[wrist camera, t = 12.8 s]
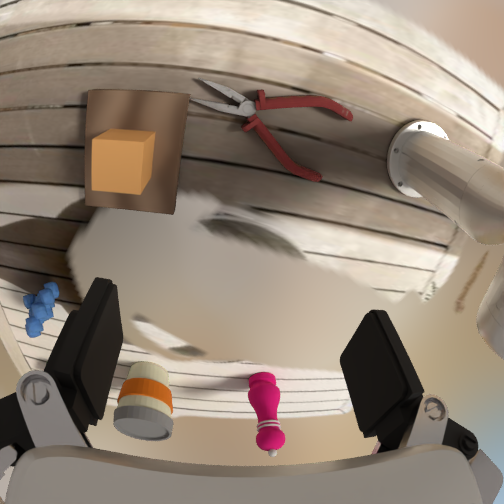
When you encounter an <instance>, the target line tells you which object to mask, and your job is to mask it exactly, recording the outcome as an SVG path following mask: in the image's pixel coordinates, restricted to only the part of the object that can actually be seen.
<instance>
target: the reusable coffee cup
mask: <svg viewBox="0 0 504 504" xmlns="http://www.w3.org/2000/svg"><path fill="white" fill-rule="evenodd" d="M117 402H118V406H117V408H116V409H115V411H114V427H115V428H116V429H117V430H118V431H120V432H121V433H123V434H125V435H128V436H130V437H133V438H136V439H141V440H147V441H161V440H166V439H168V438H170V437H171V434H172V428H173V420H172V417H171V414H172V413H173V407H172V394H171V391H170V389H169V376H168V372H167V371H166V370H165V369H164V368H163V367H162V366H160V365H158V364H155V363H152V362H137V363H134V364H133V365H132V366H131V368H130V371H129V374H128V377H127V380H126V381H125V382H124V383H123V385H122V388H121V391H120V394H119V397H118V400H117Z"/></svg>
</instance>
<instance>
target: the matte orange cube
mask: <svg viewBox="0 0 504 504" xmlns="http://www.w3.org/2000/svg"><path fill="white" fill-rule="evenodd" d="M155 133H156V132H153V131H140V130H124V129H109V130H107V131H106V132H104V133H102V134H100V135H99V136H97V137H95V138H93V139H92V190H94V191H106V192H117V193H127V194H137V195H141V193H142V191H143V190H144V188H145V186H146V185H147V183H148V181H149V180H150V178H151V174H152V162H153V151H154V142H155Z"/></svg>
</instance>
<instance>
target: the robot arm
mask: <svg viewBox="0 0 504 504" xmlns="http://www.w3.org/2000/svg"><path fill="white" fill-rule="evenodd" d="M387 169H388V174H389V177H390V179H391V181H392V183H393V185H394V186H395V187H396V188H397V189H398V190H399V191H400V192H402V193H403V194H405V195H407V196H410V197H417V198H418V197H424V198H425V199H426V200H428V201H429V202H430V203H431V204H433V205H434V206H435V207H436V208H438V209H439V210H440V211H441V212H442V213H444V214H445V215H446V216H447V217H448V218H450V219H451V220H452V221H453V222H454V223H455V224H456V225H458V226H459V227H460V228H461V229H462V230H463V231H464V232H466V233H467V234H468V235H469V236H470V237H471V238H473V239H474V240H475V241H477V242H479V243H481V244H485V245H499V244H504V168H503V167H501V166H499V165H498V164H496V163H494V162H492V161H490V160H488V159H487V158H485V157H483V156H481V155H479V154H477V153H475V152H473V151H471V150H469V149H467V148H465V147H463V146H461V145H459V144H456V143H454V142H452V141H450V140H449V139H448V137H447V135H446V134H445V132H444V131H443V130H442V129H441V128H440V127H439V126H438V125H436V124H435V123H432V122H430V121H425V120H416V121H412V122H410V123H408V124H406V125H405V126H403V127H402V128H401V129H400V130H399V131H398V132H397V133H396V135H395V136H394V138H393V140H392V142H391V144H390V147H389V150H388V155H387ZM477 327H478V331H479V333H480V335H481V337H482V339H483V340H484V342H485V343H486V344H487V345H488V347H489V348H490V349H492V350H493V351H494V352H495V353H496V354H497V355H498V356H500V357H501V358H502V359H504V256H503V259H502V262H501V264H500V266H499V269H498V270H497V273H496V275H495V277H494V279H493V281H492V282H491V285H490V286H489V288H488V290H487V292H486V294H485V296H484V298H483V300H482V302H481V304H480V307H479V309H478V313H477ZM122 343H123V331H122V324H121V317H120V309H119V301H118V292H117V286H116V285H115V284H113V283H112V280H110V279H104V278H98V277H97V278H95V280H94V281H93V283H92V285H91V287H90V289H89V291H88V293H87V295H86V297H85V299H84V301H83V303H82V305H81V307H80V309H79V311H77V310H73V311H71V313H70V314H69V316H68V318H67V320H66V322H65V324H64V326H63V328H62V330H61V333H60V335H59V337H58V339H57V341H56V343H55V346H54V348H53V350H52V353H51V355H50V357H49V359H48V362H47V364H46V367H45V369H44V372H43V371H39V370H34V371H29V372H28V373H26V374H24V375H23V376H22V377H21V378H20V379H19V381H18V383H17V388H16V392H15V393H13V394H11V395H9V396H6V397H4V398H2V399H0V479H1V478H2V477H3V476H4V475H5V474H4V471H5V470H6V469H7V468H8V467H9V466H15V467H14V470H13V472H12V475H11V478H10V482H9V485H8V489H7V493H6V499H5V503H4V501H3V500H2V499H1V497H0V504H492V503H493V501H494V500H495V498H496V496H497V494H498V492H499V490H500V488H501V486H502V483H503V476H502V473H501V471H500V470H499V469H498V468H497V466H496V465H495V464H494V463H493V462H492V461H491V460H490V459H489V457H488V456H486V454H485V453H484V452H483V451H482V450H481V449H480V450H478V442H477V439H476V437H475V436H474V434H473V433H472V432H470V431H469V430H467V429H465V428H464V427H462V426H461V425H459V424H458V423H456V422H454V421H453V420H451V419H450V418H448V408H447V405H446V404H445V402H444V401H443V400H442V399H441V398H440V397H438V396H436V395H432V394H429V395H426V396H425V397H423V395H422V393H424V389H423V387H422V385H421V382H420V380H419V378H418V376H417V373H416V371H415V369H414V367H413V365H412V363H411V360H410V358H409V356H408V355H407V352H406V350H405V348H404V346H403V344H402V342H401V340H400V337H399V335H398V334H397V331H396V329H395V327H394V326H393V324H392V322H391V320H390V318H389V316H388V314H387V312H386V311H384V310H371V311H369V313H367V314H366V315H365V316H364V318H363V320H362V321H361V323H360V325H359V327H358V328H357V330H356V332H355V333H354V335H353V336H352V338H351V340H350V341H349V343H348V345H347V346H346V348H345V350H344V351H343V353H342V354H341V357H340V364H341V368H342V371H343V374H344V378H345V381H346V384H347V388H348V391H349V395H350V398H351V401H352V405H353V408H354V412H355V415H356V419H357V423H358V426H359V429H360V431H361V432H363V434H364V438H368V437H374V436H376V435H377V437H378V441H377V443H376V446H375V448H374V450H373V452H372V454H371V455H367V456H361V457H355V458H350V459H343V460H336V461H327V462H318V463H308V464H296V465H279V466H222V465H205V464H192V463H181V462H173V461H165V460H158V459H151V458H144V457H138V456H133V455H127V454H122V453H117V452H111V451H106V450H100V449H95V448H93V446H92V445H91V443H90V441H89V439H88V437H87V436H86V434H85V432H87V430H88V425H89V424H90V425H94V426H96V425H97V421H98V419H99V420H101V419H102V418H103V416H104V411H105V406H106V403H107V399H108V395H109V391H110V387H111V383H112V379H113V375H114V371H115V368H116V364H117V360H118V357H119V353H120V350H121V346H122Z"/></svg>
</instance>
